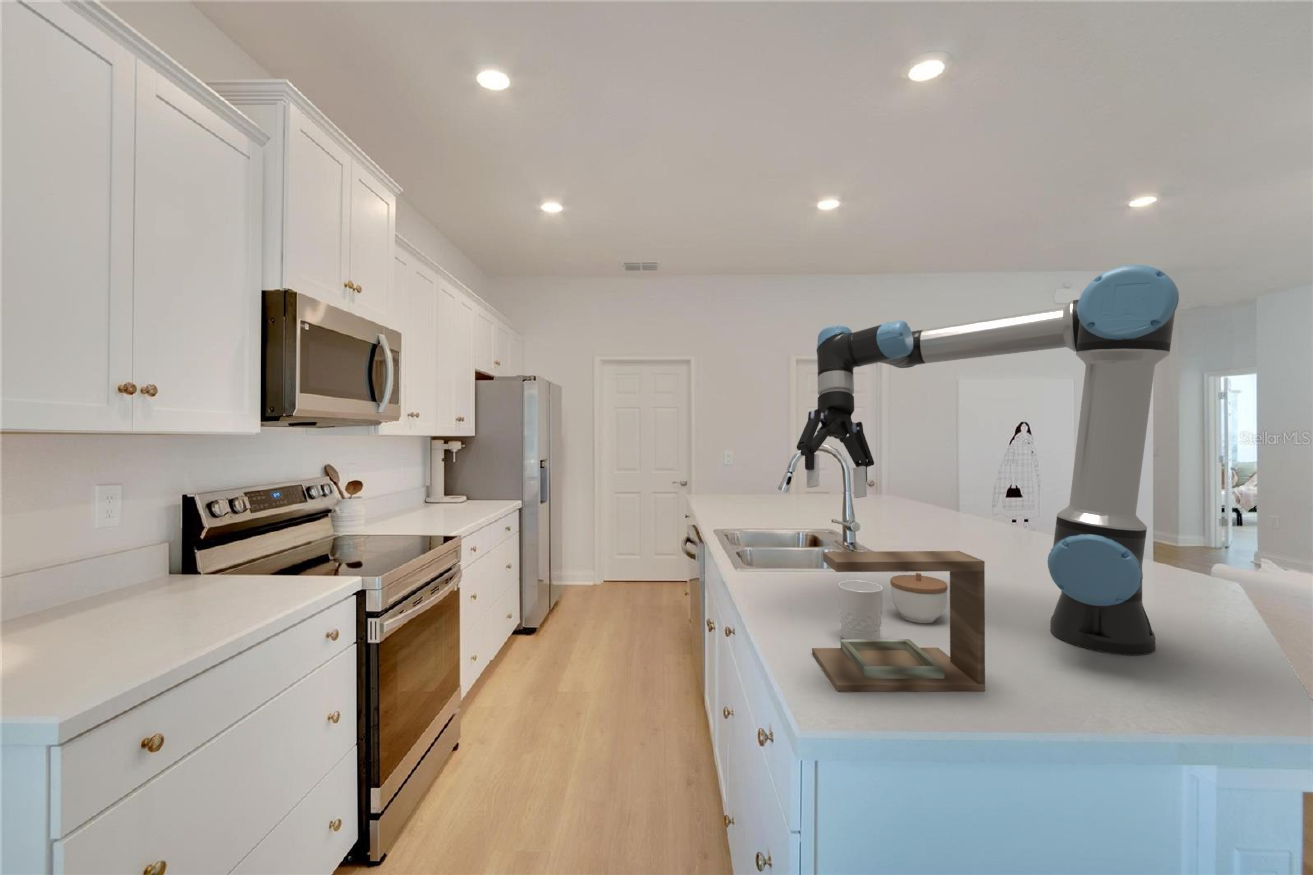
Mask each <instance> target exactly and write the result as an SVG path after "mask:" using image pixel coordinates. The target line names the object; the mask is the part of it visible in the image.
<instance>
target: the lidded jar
mask: <svg viewBox="0 0 1313 875" xmlns="http://www.w3.org/2000/svg"><path fill="white" fill-rule="evenodd" d="M948 587H949V586H948V584H947V582H946V581H944V580H943V579H942V580H941V579H938V578H936V577H931V576H925V575H922V573H921V572H916V573H915V574H898V575H895V576H894V575H893V576H892V577H890V593H891V598H892V599H891V600H892V602H893V606H894V608H895V609H896V611H898V612H899V614H900V615H901V616H902V618H903V619H904V620H907V621H908V622H912V623H918V624H933V623H934V622H936V620H937V619H938V618H939V617H941V615H942V614H943V613H944V612H945V611H944V610H945V608H946V605H947V601H948V600H947V598H948Z"/></svg>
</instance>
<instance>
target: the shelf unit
mask: <svg viewBox="0 0 1313 875" xmlns="http://www.w3.org/2000/svg"><path fill="white" fill-rule="evenodd" d="M822 562H824V563H825V565H827V566H829V567H830V568H831V569H832V570H834V571H835V572H836V573H872V572H873V573H884V572H885V573H889V572H891V573H893V572H894V573H899V572H905V573H906V572H908V573H909V572H910V573H913V572H914V573H915V572H916V573H921V572H925V573H926V572H949V653H950V654H949V655H948V654H947V653H945V652H944V651H943V650H942V649H940V648H939V647H919V646H918V645H917V644H916V643H915V642H913V641H912V640H911V639H909V638H898V639H897V638H892V639H891V638H889V639H888V638H887V639H886V638H883V639H882V638H880V639H843V638H842V639H840V647H812V648H811V655H812V657H814V659H815V660H816V662H817V663H818V665H819V667H821V669H822V671H823V672H824V674H825V675H826V677H827V678H828V679H829V681H830V682H831V684H832V686H833V687H834V688H835V690H836V691H837V692H843V693H844V692H846V691H847V692H849V691H850V692H985V691H986V655H985V654H986V632H985V630H986V625H985V624H986V618H985V615H986V611H985V610H986V609H985V608H986V606H985V605H986V604H985V602H986V600H985V599H986V598H985V596H986V595H985V594H986V592H985V586H986V584H985V574H986V573H985V572H986V571H985V570H986V569H985V568H986V567H985V566H986V565H985V562H986V561H985V560H983V559H980V558H978V557H975V556H973V555H970V554H967V553H966V552H963V551H960V550H921V551H920V550H918V551H917V550H916V551H915V550H908V551H905V550H904V551H903V550H899V551H897V550H896V551H887V550H886V551H883V550H882V551H881V550H880V551H876V550H875V551H823V552H822Z"/></svg>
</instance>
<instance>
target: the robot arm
mask: <svg viewBox="0 0 1313 875" xmlns="http://www.w3.org/2000/svg"><path fill="white" fill-rule="evenodd" d="M1179 296H1180V293H1179V289H1178V287H1177V285H1176V283H1175V281H1174V280H1173V279H1172V278H1170V276H1169V275H1168V274H1166V273H1165V272H1164V271H1162V270H1161V269H1158V268H1156V267H1153V266H1150V265H1143V264H1128V265H1123V266H1122V265H1121V266H1118V267H1115V268H1112V269H1109V270H1107V271H1105V272H1103V273H1101V274H1099V275H1098V276H1096V277H1095V278H1094V279H1093V280H1091V282H1089V283H1088V285H1087V286H1086V287H1085V288H1084V289H1083V291H1082V293H1081V295H1080V297H1079V299H1075V300H1070V302H1068V304H1066V305H1065V306H1064V307H1057V308H1051V309H1046V310H1045V309H1043V310H1039V311H1033V312H1031V311H1030V312H1027V313H1020V314H1013V315H1007V316H1001V317H996V318H988V319H981V320H975V321H969V322H963V323H957V324H950V325H943V326H937V327H931V328H925V329H920V330H919V329H918V330H913V331H912V329H911V327H910V326H909V324H908V323H907V322H906V321H904V320H896V321H886V322H884V323H882V324H878V325H875V326H872V327H868V328H864V329H862V330H857V331H854V332H852V329H851V328H850V327H848V326H847V325H837V326H835V325H830V326H827V327H825V328H823V329H822V330H821V331H820V332H819V333H818V335H817V345H816V356H817V357H816V358H817V360H816V361H817V395H818V397H817V409H816V408H815V409H814V410H811V411H809V412H808V416H807V422H806V424H805V426H804V429H803V431H802V433H801V435H800V438H799V440H798V442H797V445H796V450H797V451H799V452H800V455H801V456H802V457H804V470H806V488H809V489H811V488H812V489H813V488H817V487H820V454H818V453H817V451H818V450H819V449H820V447H821V446H822V445H823V443H825V441H826V439H828V438H829V437H830V438H834V439H836V440H838V441H839V442H840V443H841V444H843V446H844V448H845V449H846V451H847V453H848V454H849V457H850V459H851V460H852V462H853V463H854V465H855V467H853V469H852V474H853V476H852V477H853V480H852V481H853V498H855V499H861V498H866V497H868V495H867V494H868V493H867V482H868V468H869V467H871V466H874V465H875V461H874V457H873V455H872V452H871V449H870V447H869V444H868V441H867V438H866V435H865V432H864V427H863V426H864V425H863V422H862V421H858V422H853V420H852V416H853V413H854V412H855V396H854V394H855V383H854V381H855V380H854V370H855V368H860V367H863V366H867V365H873V364H876V363H881V364H886V365H890V366H892V367H895V368H897V369H906V368H907V369H909V368H913V367H915V366H918V365H924V364H931V363H932V364H933V363H940V362H942V363H943V362H949V361H957V360H968V359H975V358H985V357H993V356H1002V355H1010V354H1018V353H1027V352H1035V351H1037V352H1038V351H1044V350H1045V351H1046V350H1054V349H1062V348H1067V349H1070V351H1073V352H1074V353H1075V356H1077V357H1078V358H1079V359H1080V360H1081V361H1082V362H1083V363H1084V365H1085V368H1084V369H1085V371H1084V376H1083V378H1084V379H1083V387H1082V394H1081V403H1080V404H1081V405H1080V413H1079V421H1078V429H1077V438H1076V444H1075V445H1076V446H1075V447H1076V448H1075V453H1074V455H1075V456H1074V461H1073V462H1074V463H1073V472H1072V480H1071V489H1070V497H1069V503H1068V504H1069V505H1068V506H1067V507H1066V508H1063V509H1062V510H1060V511H1059V512H1057V513H1056V520H1055V528H1054V538H1053V546H1052V548H1051V549H1050V552H1049V553H1048V556H1047V567H1048V571H1049V574H1050V577H1051V579H1052V581H1053V583H1054V584H1055V585H1056V586H1057V587H1058V589H1060V590H1061V592H1060V595H1059V598H1058V600H1057V602H1056V604H1055V605H1056V606H1055V607H1054V611H1053V615H1052V616H1050V623H1049V624H1050V626H1049V627H1050V628H1049V630H1050V633H1051V634H1052V635H1053V636H1054V637H1056V638H1058V639H1059V640H1062V641H1064V642H1066V643H1070V644H1072V645H1074V646H1078V647H1081V648H1084V649H1089V650H1093V651H1098V652H1102V653H1110V654H1115V655H1116V654H1117V655H1125V656H1126V655H1127V656H1140V655H1141V656H1143V655H1150V654H1153V653H1154V652H1155V651H1156V646H1157V644H1156V635H1155V633H1154V631H1153V628H1152V626H1151V623H1150V620H1149V616H1148V615H1147V613H1146V609H1145V608H1144V604H1143V579H1144V578H1143V577H1144V575H1143V562H1144V555H1145V554H1144V553H1145V547H1146V546H1145V545H1146V539H1147V538H1146V537H1147V532H1148V531H1147V529H1148V526H1147V525H1146V524H1145V523H1144V522H1143V521H1141V520H1140V518H1139V517H1138V516H1137V508H1138V501H1139V500H1138V499H1139V492H1140V485H1141V476H1142V471H1143V470H1142V469H1143V463H1144V462H1143V461H1144V453H1145V445H1146V437H1147V431H1148V430H1147V429H1148V422H1149V414H1150V406H1151V400H1152V399H1151V398H1152V391H1153V382H1154V376H1155V368H1156V365H1157V364H1158V363H1159V362H1161V361H1162V360H1164V359H1165V358H1166V357H1168V356H1170V352H1171V344H1172V339H1173V338H1172V337H1173V330H1174V322H1175V315H1176V314H1175V313H1176V309H1178V308H1177V307H1178V305H1179V300H1180V297H1179ZM820 424H821V426H820V427H819V425H820ZM818 427H819V428H818Z"/></svg>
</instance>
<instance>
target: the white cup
mask: <svg viewBox="0 0 1313 875" xmlns="http://www.w3.org/2000/svg"><path fill="white" fill-rule="evenodd" d="M837 585H838V586H837V588H838V590H837V591H838V605H839V607H838V608H839V617H840V618H839V620H840V621H839V622H840V626H841V628H840V629H841V637H842V639H881V627H882V617H883V616H882V615H883V593H884V588H883V586H882V585H881V584H880V583H879V584H878V583H876V582H872V581H868V580H867V581H866V580H861V579H860V580H855V579H854V580H853V579H852V580H851V579H850V580H849V579H848V580H843V581H840V582H838V583H837Z"/></svg>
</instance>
